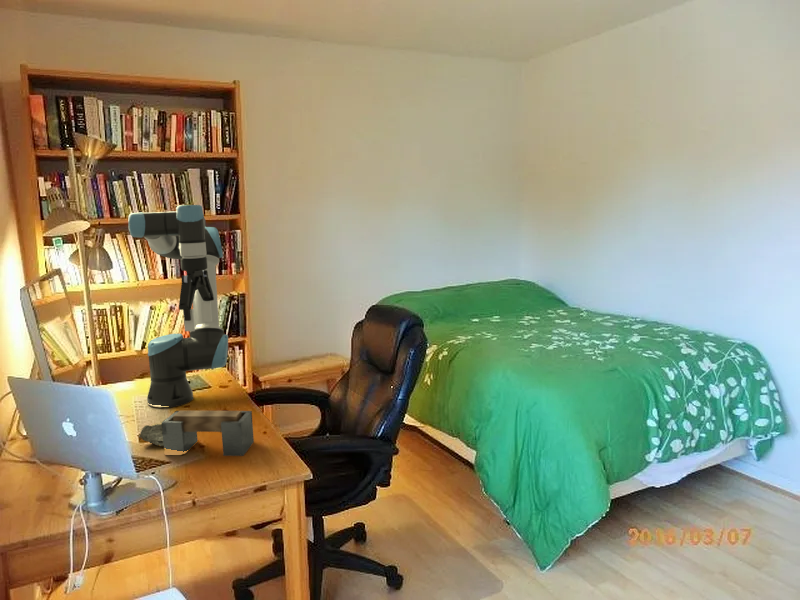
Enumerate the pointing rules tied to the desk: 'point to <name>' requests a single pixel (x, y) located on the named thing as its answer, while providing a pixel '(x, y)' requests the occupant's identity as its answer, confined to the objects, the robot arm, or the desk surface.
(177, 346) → the robot arm
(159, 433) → the rock sample
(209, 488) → the desk surface
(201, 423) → the rail
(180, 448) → the bracket
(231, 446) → the bracket
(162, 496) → the desk surface
